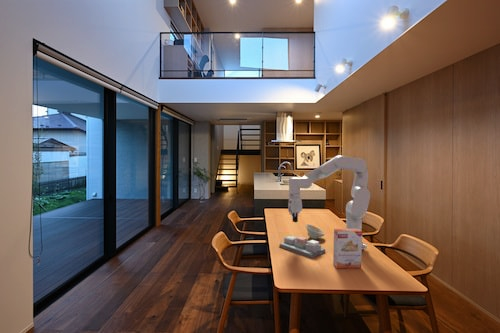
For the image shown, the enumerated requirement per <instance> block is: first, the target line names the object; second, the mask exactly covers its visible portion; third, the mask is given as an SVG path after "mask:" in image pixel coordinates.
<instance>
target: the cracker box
mask: <svg viewBox="0 0 500 333" xmlns="http://www.w3.org/2000/svg"><path fill="white" fill-rule="evenodd" d="M362 242H363V231H362V230H361V231H360V230H359V229H346V228H334V230H333V260H332V262H333V263H332V264H333V265H334V267H335V268H336V269H361V268H362V254H363V253H362V252H363V251H362Z"/></svg>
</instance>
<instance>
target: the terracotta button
mask: <svg viewBox="0 0 500 333" xmlns="http://www.w3.org/2000/svg"><path fill="white" fill-rule="evenodd" d="M296 241H297V242H300V243H305V242H307V241H308V237H304V236H297V238H296Z"/></svg>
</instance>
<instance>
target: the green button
mask: <svg viewBox="0 0 500 333" xmlns="http://www.w3.org/2000/svg"><path fill="white" fill-rule="evenodd" d="M288 236H289V237H288ZM288 236H285V237H286V238H288V239H291V240H293V239H295V238H296V236H294V235H293V236H292V235H288Z"/></svg>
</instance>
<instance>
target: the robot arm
mask: <svg viewBox="0 0 500 333" xmlns="http://www.w3.org/2000/svg"><path fill="white" fill-rule="evenodd" d="M367 168H368V163H367V162H366V160H364V159H363V158H359V157H351V156H346V155H336V156H334V157H332V158H331V159H329V160H328V161H326V162H325V163H323V164H322V165H320V166H318V167H316V168H315V169H313V170H311V171H310V172H309V171H308V173H306V174H304V175H302V177H297V176H296V177H290V178H288V203H287V204H288V205H287V207H288V214H289V215H291V216H292V223H298V222H299V221H298V220H299V218H298V216H299V214H300V213H301V212H302V211H303V201H302V197H301V189H304V190H305V189H309V188H311V187H312V184H314V182H316V181H318V180H320V179H325V178H328V177H329V176H330V175H332V174H334V173H336V172H337V171H339V170H345V171H349V172H351V171H352V173H353V174H354V178H353V182H352V186H351V190H350V195H351V197H352V198H353V200H350V201H348V202H346V205H345V215H346V217H345V218H346V220H345V221H346V226H345V227H346V228H345V229H359V230H360V231H362V224H363V222H362V218H364V217H365V216H366V214H367V211H368V207H369V203H370V200H371V193H370V191H369V189H368V187H367V186H368V182H369V172H368V169H367ZM367 248H368V245H367V244H364V241H362V250H364V249H365V250H366V249H367Z"/></svg>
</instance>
